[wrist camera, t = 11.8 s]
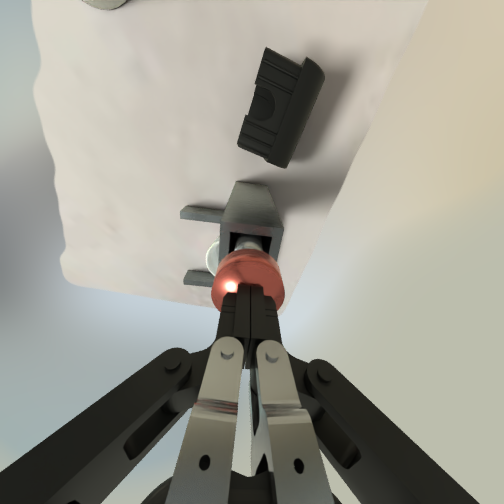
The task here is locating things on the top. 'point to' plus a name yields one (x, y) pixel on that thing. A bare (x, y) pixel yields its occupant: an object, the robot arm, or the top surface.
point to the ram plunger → (248, 271)
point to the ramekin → (213, 256)
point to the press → (239, 224)
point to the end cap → (280, 107)
